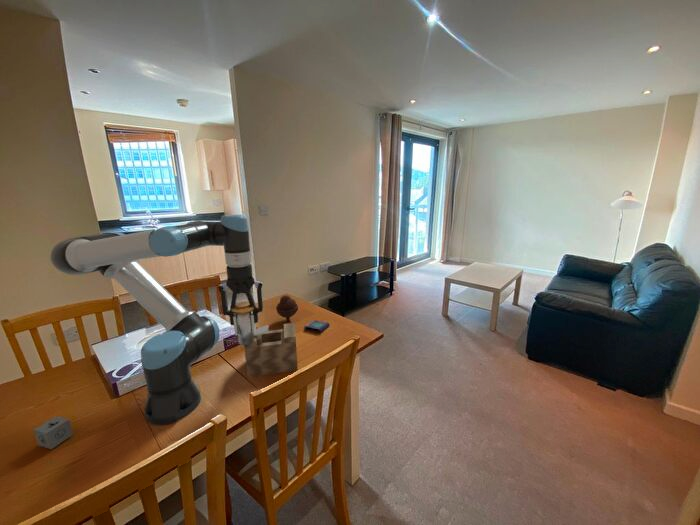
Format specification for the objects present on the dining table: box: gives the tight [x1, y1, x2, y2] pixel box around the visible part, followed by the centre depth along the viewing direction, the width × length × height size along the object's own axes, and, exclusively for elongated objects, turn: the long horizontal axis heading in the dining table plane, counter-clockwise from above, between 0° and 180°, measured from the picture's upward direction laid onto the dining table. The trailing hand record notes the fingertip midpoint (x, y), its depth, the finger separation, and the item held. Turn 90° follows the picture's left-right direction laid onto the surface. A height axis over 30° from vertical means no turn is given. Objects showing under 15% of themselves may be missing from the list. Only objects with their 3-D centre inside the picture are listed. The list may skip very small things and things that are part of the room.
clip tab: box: [253, 324, 270, 337], centre depth 110 cm, size 6×5×1 cm
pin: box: [229, 300, 257, 346], centre depth 97 cm, size 8×8×13 cm
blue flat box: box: [303, 319, 330, 334], centre depth 143 cm, size 9×3×11 cm
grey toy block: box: [33, 415, 74, 450], centre depth 80 cm, size 5×5×5 cm
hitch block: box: [243, 322, 299, 378], centre depth 113 cm, size 18×12×14 cm, turn 103°
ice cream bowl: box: [275, 294, 299, 323], centre depth 148 cm, size 11×11×15 cm
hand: (245, 332), depth 98 cm, fingers closed on pin, 5 cm apart
